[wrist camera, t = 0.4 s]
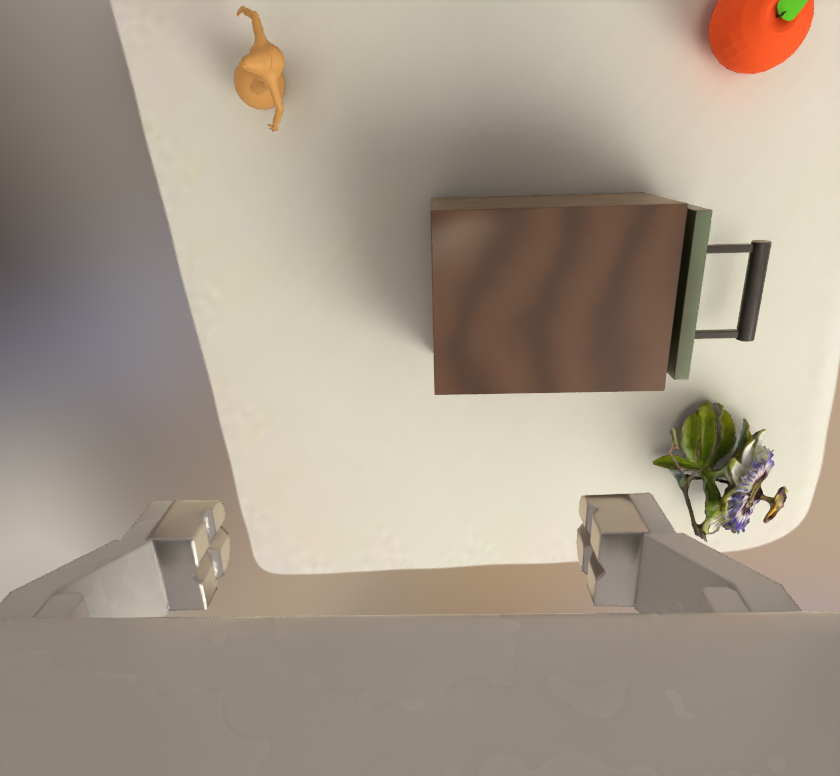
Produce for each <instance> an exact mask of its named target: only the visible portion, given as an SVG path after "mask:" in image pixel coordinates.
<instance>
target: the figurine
mask: <svg viewBox="0 0 840 776" xmlns="http://www.w3.org/2000/svg"><path fill="white" fill-rule="evenodd" d="M242 12H243V13H244V14H245V15H246V16H248V17H250V18H251V19H252V25H253V30H254V34H255V42H254V45H253V47H252V48H251V50H250V53H249V54H248V55H246V56H245V57H243V58H242V60H241V62H240V63H239V64H238V66H237V68H236V70H235V74H234V84H235V88H236V91H237V93H238V95H239V96H240V98H241V99H242V100H243V101H244V102H245V103H246V104H247V105H249V106H251V107H253V108H256V109H269V108H272V107H273V106H276V112H275V116H274V119H273V125H270V124H268V126H270V127H271V128H269V129H272V131H276V132H277V131H278V124H279V123H280V120H281V116H282V114H283V103H282V99H281V98H282V96H283V94H284V90H285V81H284V76H283V73H282V71H283V69H284V64H285V62H284V56H283V54H282V52H281V51H280V49H279V48H278V47H276V46H275V45H273V44H271V43H270V42H268V40H267V39H266V37H265V35H264V32H263V28H262V25H261V21H260V18H259V16H258V14H257V12H256V11H252V10H250V9H248V8H245V7H244V6H242V7H240V9H239V10H238V12H237V16H239V15H240V14H241V13H242Z"/></svg>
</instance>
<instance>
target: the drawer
mask: <svg viewBox="0 0 840 776" xmlns="http://www.w3.org/2000/svg"><path fill="white" fill-rule="evenodd" d="M711 217H712V210H710V209H706V208H702V207H698V206H693V205H689V204H688V208H687V216H686V224H685V232H684V239H683V247H682V255H681V263H680V271H679V279H678V287H677V294H676V302H675V310H674V318H673V326H672V334H671V341H670V349H669V357H668V365H667V373H668V374H669V375H670V376H671V377H672V378H673V379H674V380H675V379H689V372H690V365H691V358H692V351H693V343H694V339H706V338H736V339H737V340H740V341H753V340H754V337H755V332H756V326H757V320H758V315H759V309H760V304H761V298H762V293H763V287H764V281H765V276H766V270H767V265H768V259H769V254H770V248H771V241H766V240H753V241H752V242H751V244H717V245H708V238H709V231H710V224H711ZM744 252H750V253H749V259H748V265H747V271H746V276H745V282H744V288H743V294H742V300H741V306H740V312H739V318H738V324H737V330H736V329H728V330H695V329H696V322H697V315H698V308H699V301H700V294H701V287H702V280H703V273H704V266H705V259H706V253H744Z"/></svg>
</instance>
